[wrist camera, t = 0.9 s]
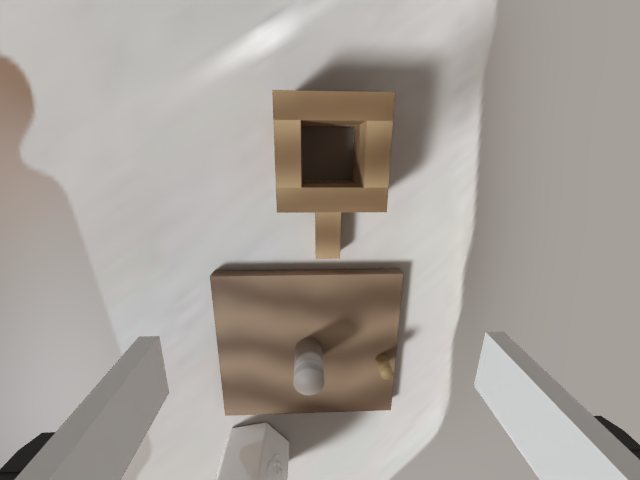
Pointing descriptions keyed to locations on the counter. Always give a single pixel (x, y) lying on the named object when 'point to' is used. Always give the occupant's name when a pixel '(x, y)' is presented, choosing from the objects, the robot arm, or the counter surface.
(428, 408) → the counter surface
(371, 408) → the jig
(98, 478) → the robot arm
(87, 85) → the counter surface
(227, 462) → the jar
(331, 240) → the wooden square frame
